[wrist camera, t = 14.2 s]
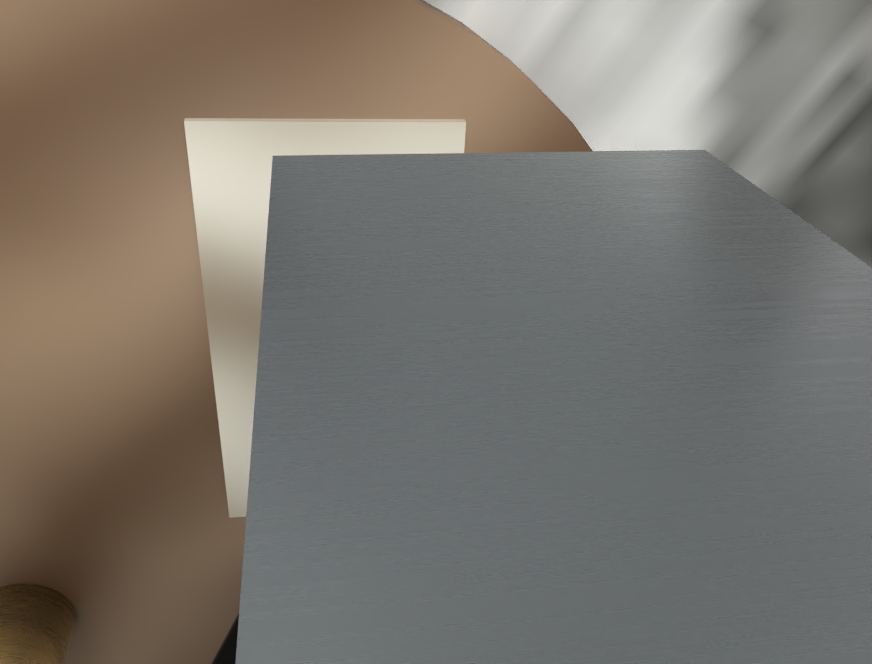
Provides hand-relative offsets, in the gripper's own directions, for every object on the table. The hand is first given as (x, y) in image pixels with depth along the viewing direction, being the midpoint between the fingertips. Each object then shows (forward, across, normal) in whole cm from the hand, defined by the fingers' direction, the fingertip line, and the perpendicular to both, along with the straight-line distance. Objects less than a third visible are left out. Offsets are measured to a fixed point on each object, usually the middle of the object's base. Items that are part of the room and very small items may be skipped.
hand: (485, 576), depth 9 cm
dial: (+11, +4, +4) cm, 12 cm away
